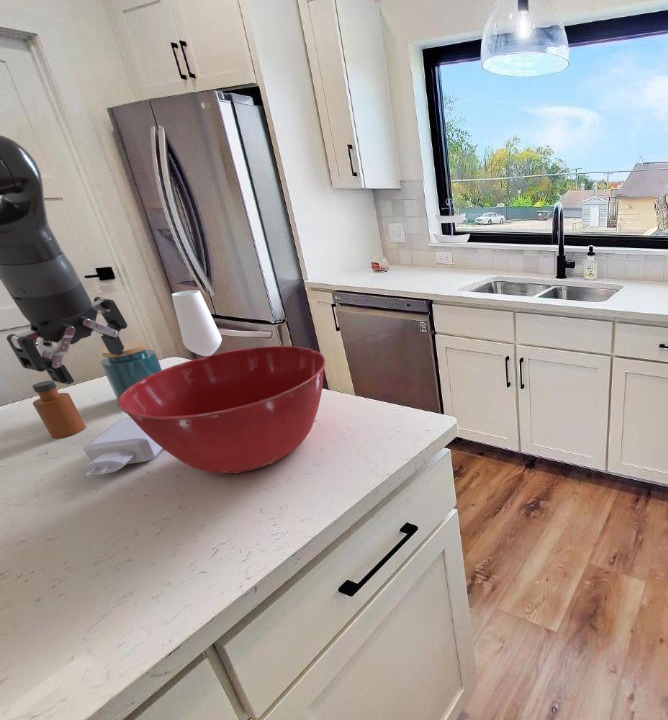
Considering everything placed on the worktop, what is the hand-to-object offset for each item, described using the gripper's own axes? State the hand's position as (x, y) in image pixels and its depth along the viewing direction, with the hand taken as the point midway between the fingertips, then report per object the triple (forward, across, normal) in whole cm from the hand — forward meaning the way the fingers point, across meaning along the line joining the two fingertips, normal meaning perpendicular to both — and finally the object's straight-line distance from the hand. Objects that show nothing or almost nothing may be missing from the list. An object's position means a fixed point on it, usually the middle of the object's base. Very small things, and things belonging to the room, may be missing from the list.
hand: (93, 367), depth 72 cm
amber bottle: (+20, +1, -13) cm, 24 cm away
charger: (+14, +7, +8) cm, 17 cm away
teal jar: (+22, -14, -13) cm, 29 cm away
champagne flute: (+20, -17, +4) cm, 26 cm away
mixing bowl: (+10, +1, +28) cm, 30 cm away
